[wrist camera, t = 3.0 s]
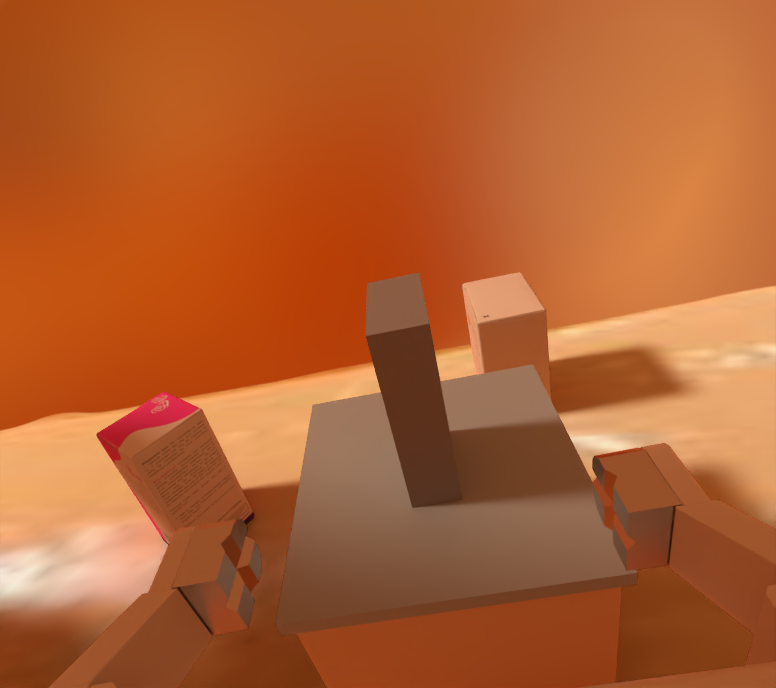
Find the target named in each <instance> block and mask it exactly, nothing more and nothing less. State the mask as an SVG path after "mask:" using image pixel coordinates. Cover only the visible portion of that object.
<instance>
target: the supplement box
mask: <svg viewBox="0 0 776 688" xmlns="http://www.w3.org/2000/svg"><path fill="white" fill-rule="evenodd" d="M97 438H98V439H99V441H100V442H101V444H102V445H103V447H104V449H105V450H106V452H107V453H108V455H109V456H110V458H111V459H112V461H113V462H114V464H115V466H116V467H117V469H118V470H119V472H120V473H121V475H122V476H123V478H124V479H125V481H126V482H127V484H128V485H129V487H130V489H131V490H132V492H133V493H134V495H135V496H136V498H137V499H138V501H139V502H140V504H141V506H142V507H143V509H144V510H145V512H146V514H147V515H148V517H149V518H150V520H151V521H152V523H153V524H154V526H155V527H156V529H157V530H158V532H159V533H160V535H161V537H162V538H163V540H164V541H165V542H166V543H167V544H168V545H169V543H170V540H171V538H172V536H173V534H174V533H175V532H176V531H177V530H178V529H179V528H184V527H190V526H197V525H201V524H208V523H215V522H222V521H228V520H235V519H242V520H243V521H244V523H245V524H248V523H249V521H251V520H252V519H253V517H254V513H253V511H252V509H251V507H250V505H249V503H248V501H247V499H246V497H245V495H244V493H243V490H242V488H241V486H240V484H239V482H238V480H237V478H236V476H235V474H234V472H233V470H232V468H231V466H230V464H229V462H228V460H227V458H226V456H225V455H224V453H223V450H222V448H221V446H220V444H219V442H218V440H217V438H216V436H215V434H214V432H213V430H212V428H211V427H210V425H209V422H208V420H207V418H206V416H205V414H204V412H203V410H202V409H200V408H198V407H196V406H194V405H192V404H190V403H188V402H185V401H183V400H181V399H179V398H177V397H175V396H173V395H170V394H168V393H166V392H163V393H161V394H159V395H157V396H156V397H154V398H153V399H151V400H149V401H148V402H146V403H145V404H143V405H142V406H140V407H139V408H137V409H136V410H134V411H133V412H131V413H129V414H128V415H126V416H124V417H123V418H121V419H120V420H118V421H116V422H115V423H113V424H112V425H110V426H108V427H107V428H105V429H103V430H102V431H100V432H98V433H97Z"/></svg>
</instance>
